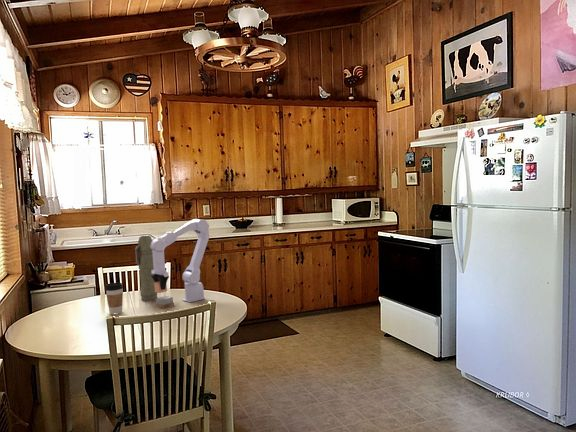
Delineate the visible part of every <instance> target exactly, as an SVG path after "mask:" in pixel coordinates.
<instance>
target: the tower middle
mask: <svg viewBox="0 0 576 432" xmlns="http://www.w3.org/2000/svg"><path fill="white" fill-rule="evenodd" d="M172 302H174V297H173V296H169V295H164V296H161V297H157V299H155V303H156V304H161V305H165V304H168V303H172Z"/></svg>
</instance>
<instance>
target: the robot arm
mask: <svg viewBox="0 0 576 432" xmlns="http://www.w3.org/2000/svg"><path fill="white" fill-rule="evenodd" d="M209 228H210V225H209V223H208V221H207V220H206V219H200V218H193V219H191V220H188V222H186V223H184V224H183V225H182V226H179V228H177V229H176V230H174V231H166V232H165V234H163V235H162V236H159V237H157V239H152V243H151V245H150V248H151V249H152V252H153V266H154V270H151V273H152V274H154V275H151V277H152V278H153V280H154V282H158V281H159V282H160V287H161V290H164V289H166V283H168V279H169V278H170V276H169V272H167V270H166V261H165V249H166V247H168V246H170V245H172V244H173V243H174V242H176V241H177V239H178V237H180V236H182V235H184V234H185V233H188V232H189V231H194V232H195V234H196V235H197V236H198V239H197V242H196V244H195V247H194V250H193V254H192V256H191V260H190V262H189V265H187V266H186V269H184V272H183V273H182V276H181V278H182V280H183V281H184V293H185V294H184V295H185V296H184V297H185V298H182V301H184V302H188V303H193V302H197V301H201V300H202V301H203V300H205V293H204V285H203V283H202V282H201V281H200V280H201V269H200V267H201V263H202V261H203V258H204V254H205V252H206V251H205V250H206V248H207V246H208V242H209V240H210V231H209Z"/></svg>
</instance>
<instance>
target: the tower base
mask: <svg viewBox="0 0 576 432" xmlns="http://www.w3.org/2000/svg"><path fill="white" fill-rule="evenodd" d="M154 306H155V307H156V308H158V309H161V310H164V309H168V308H171V307H175V302H174V301H173V302H172V303H168V304H165V305H161V304H156V302H155V304H154Z"/></svg>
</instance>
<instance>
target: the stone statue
mask: <svg viewBox="0 0 576 432" xmlns="http://www.w3.org/2000/svg"><path fill="white" fill-rule="evenodd" d="M152 241H153V239H152V236H150V235H141V236H139V237H138V241H137V242H138V243H137V245H136V246H135V248H134V253H135V254H134V256H135V264H136V265H138V269H139V276H140V277H139V278H140V286H139V291H140V294H139V295H140V298H141V299H140V300H141V301H144V302H149V301H156V299H157V298H158V293H157V292H155V286H154V280H153V278H152V277H151V275H154V274H152V273H151V270H154V266H153V252H152V249H151V248H150V245H151V243H152Z"/></svg>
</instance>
